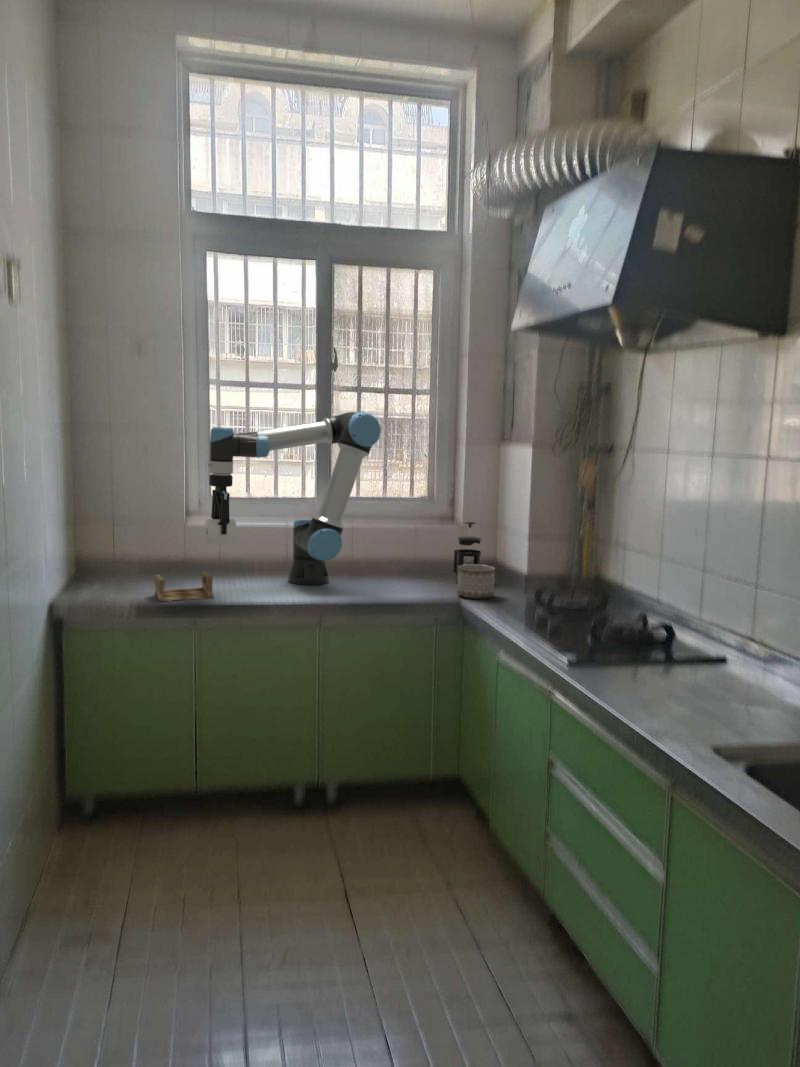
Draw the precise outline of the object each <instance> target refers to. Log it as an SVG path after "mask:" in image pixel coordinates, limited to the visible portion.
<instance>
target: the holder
mask: <svg viewBox="0 0 800 1067" xmlns="http://www.w3.org/2000/svg"><path fill="white" fill-rule="evenodd" d="M155 595H156V596H157V597H156V596H155ZM154 596H155V597H156V599H157V600H158V599H159V600H160V601H168V602H173V601H172V600H182V601H191V600H190V599H197V600H207V599H209V600H210V599H214V595H213V576H212V575H211V574H210V573H208V572H207V571H203V572H201V587H196V588H194V587H193V588H192V587H191V588H178V589H165V579H164V577H162V576H161V575H160V574H154ZM159 600H158V601H159ZM160 601H159V602H160Z"/></svg>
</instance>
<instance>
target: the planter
mask: <svg viewBox="0 0 800 1067" xmlns="http://www.w3.org/2000/svg"><path fill="white" fill-rule="evenodd" d="M465 564H466V565H460V566H457V571H458V583H457V593H456V594H457V595H459V596H461V597H465V598H467V597H470V598H469V599H471V598H483V599H486V598H487V599H488V598H492V597H493V596H494V594H495V574H496V568H495V567H494V566H491V565H487V564H480V563H479V564H474V563H473V564H472V563H470V564H467V563H465Z"/></svg>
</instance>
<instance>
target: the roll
mask: <svg viewBox="0 0 800 1067" xmlns="http://www.w3.org/2000/svg"><path fill="white" fill-rule="evenodd" d="M229 519H230V523H228V531H227V544H234V543H235V542H236V541H237V535H238V532H237V521H236V520H235V518H229ZM218 522H220V519H212V518H210V519H209V518H207V519H205V521H204V526H203V527H204V528H203V533H204V534H203V536H204V540H205V544H219V525H218Z"/></svg>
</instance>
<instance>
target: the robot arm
mask: <svg viewBox="0 0 800 1067" xmlns="http://www.w3.org/2000/svg"><path fill="white" fill-rule="evenodd" d="M381 430H382V429H381V424H380V423H379V420H378V419H377V417H375V416H374V415H373V414H371V413H369V412H364V411H356V412H355V411H348V412H345V413H341V414H338V415H334V416H330V417H324V418H323V420H322V421H315V422H309V423H304V424H295V425H289V426H282V427H275V428H270V429H264V430H258V431H257V430H256V431H250V432H239V433H235V431H234V428H232V427H219V426H218V427H217V426H216V427H215V426H214V427H212V428H211V430H210V436H209V437H210V438H209V463H208V464H207V467H209V473H210V474H209V482H208V483H209V486H210V487H214V489H212V491H211V494H212V495H211V496H212V497H211V498H212V499H211V500H212V501H211V518H210V519H220V522H218V525H219V543H218V545H228V543H227V531H228V523H230V519H231V518H230V493H229V492H228V491H227V490H228V489H227V487H228V488H229V487H232V486H233V475H232V474H233V473H234V468H233V467H234V457H236V458H237V457H239V458H257V459H258V458H267V457H268V456H269V454H270V452H271V451H278V450H284V449H290V448H296V447H302V446H309V445H315V444H322V443H326V444H327V445H332V444H334V445H335V444H337V446H338V447H339V452H338V455H337V458H336V461H335V463H334V467H333V470H332V473H331V476H330V478H329V481H328V483H327V487H326V490H325V493H324V496H323V499H322V502H321V505H320V507H319V510H318V512H317V514H316V515H314V516H312V518H311V519H296V520H294V522H293V528H292V531H293V533H292V535H293V537H292V538H293V540H292V542H293V543H292V550H293V552H292V563H291V566H290V569H289V572H288V576H287V582H289V583H290V584H296V585H309V586H310V585H312V586H313V585H314V586H315V585H324V584H327V583H330V573H329V570H328V567H327V564H326V562H328V561H330V560H332V559H335V558H336V557H337V556H338V555H339V553H340V552H341V550H342V547H343V541H342V537H341V536H342V533H343V531H344V525H343V524H342V521H343V517H344V514H345V511H346V508H347V506H348V503H349V500H350V497H351V493H352V491H353V488H354V485H355V482H356V479H357V477H358V474H359V471H360V468H361V466H362V462H363V459H364V458H365V457H368V456H369V454H370V453H371V449H372V446H373V445H375V444H376V443H377V442H378V440H380V437H381V433H382V431H381Z"/></svg>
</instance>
